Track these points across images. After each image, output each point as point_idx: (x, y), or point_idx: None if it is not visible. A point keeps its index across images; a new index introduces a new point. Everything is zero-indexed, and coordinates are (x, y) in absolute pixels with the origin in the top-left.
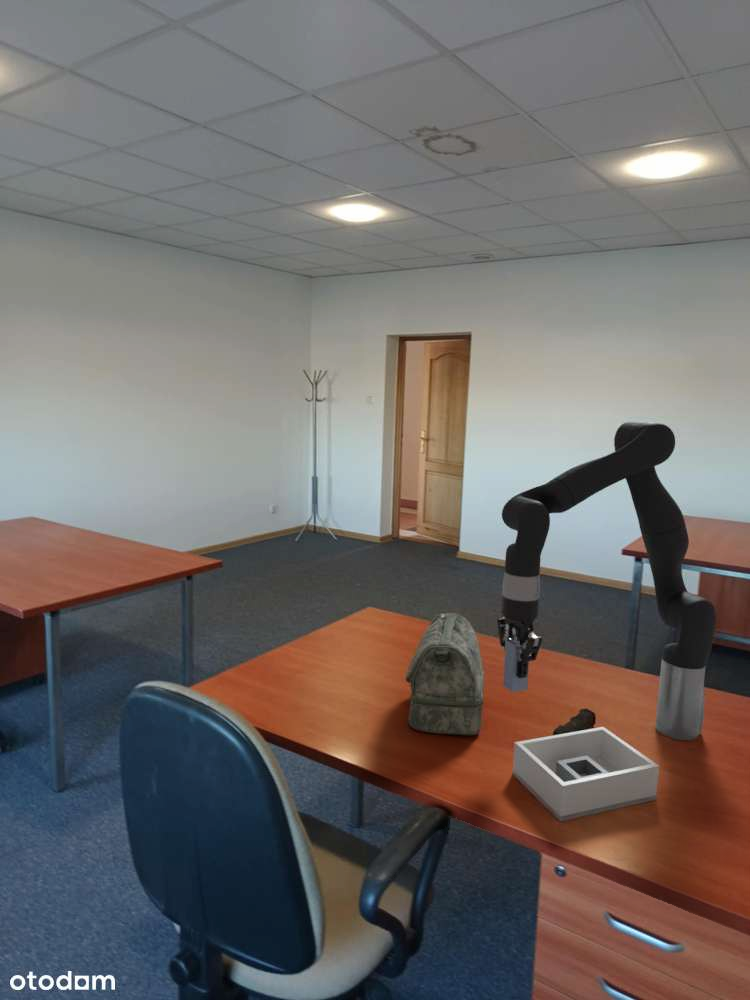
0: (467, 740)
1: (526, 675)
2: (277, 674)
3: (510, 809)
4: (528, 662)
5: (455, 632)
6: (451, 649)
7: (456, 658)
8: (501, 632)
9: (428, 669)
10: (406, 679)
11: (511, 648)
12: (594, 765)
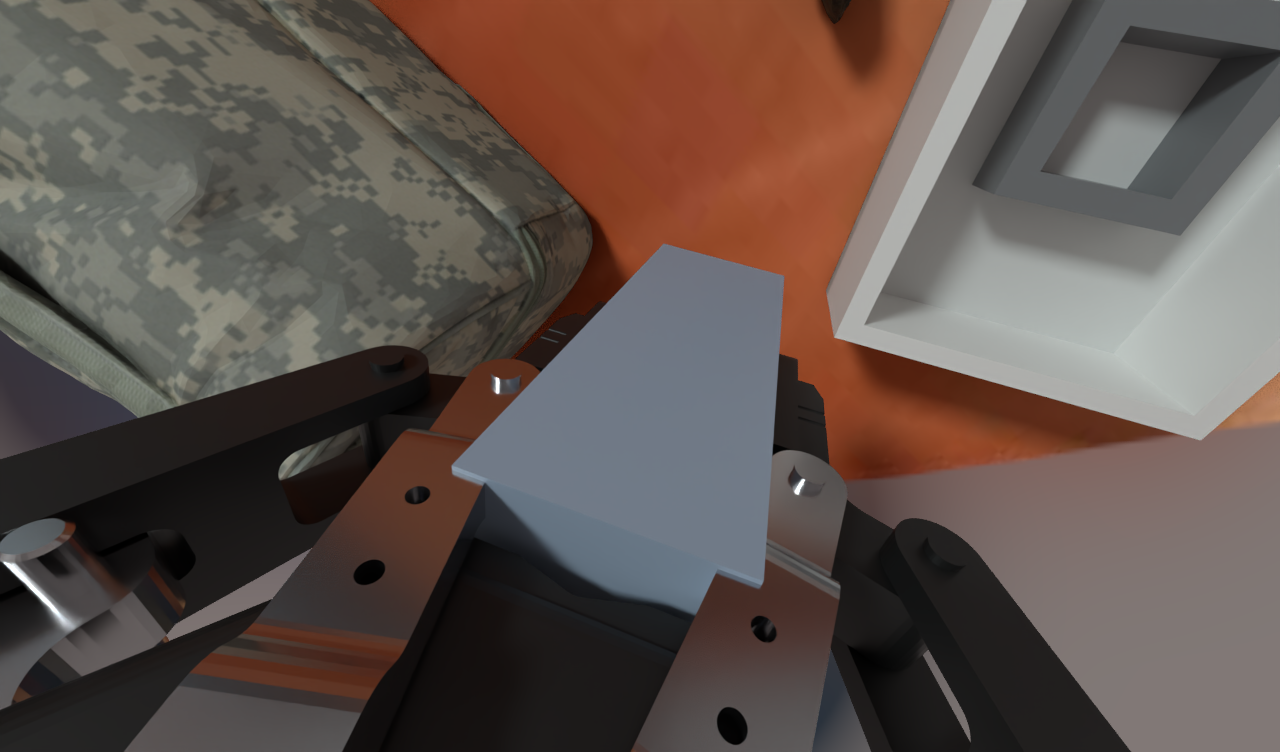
0: (598, 264)
1: (813, 391)
2: None
3: (936, 422)
4: (776, 389)
5: (11, 234)
6: None
7: (358, 432)
8: (270, 567)
9: None
10: None
11: None
12: (1207, 31)
